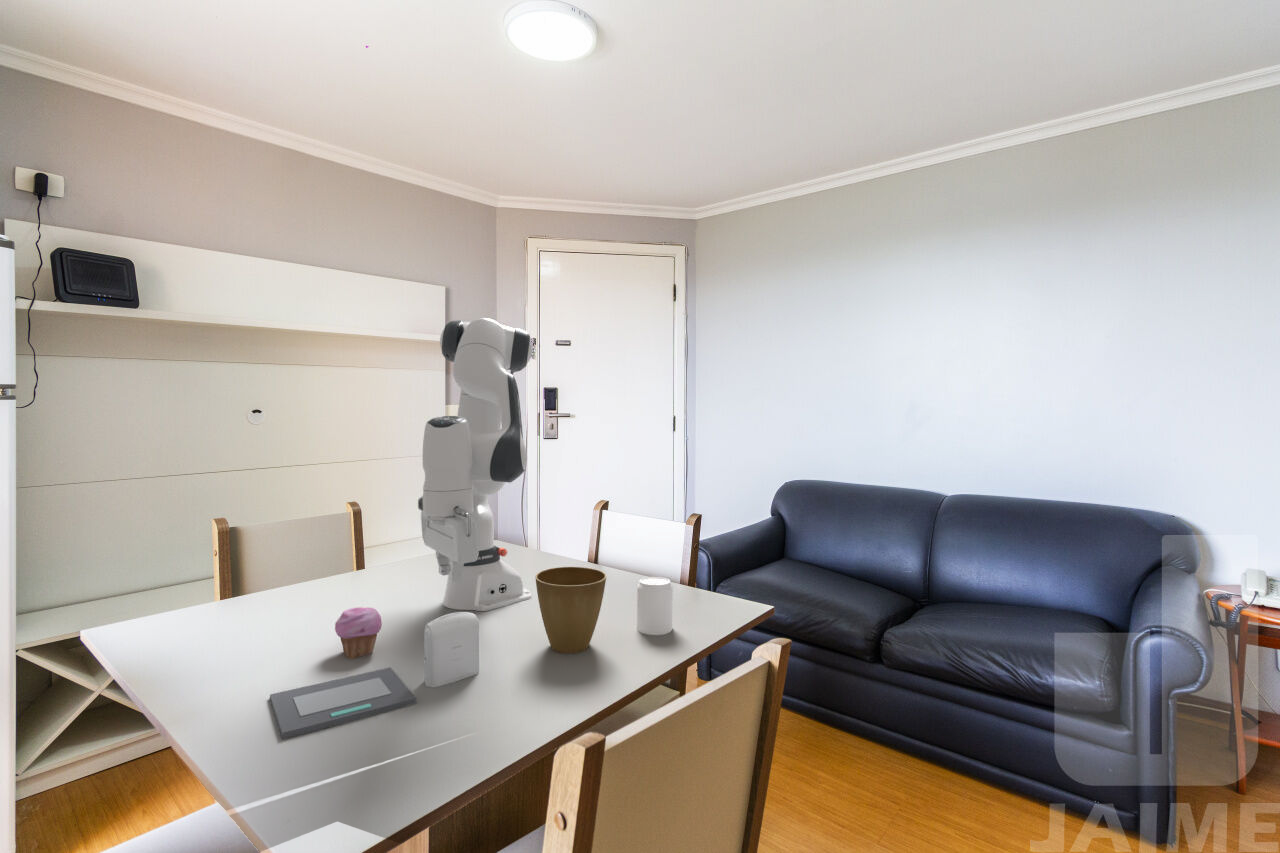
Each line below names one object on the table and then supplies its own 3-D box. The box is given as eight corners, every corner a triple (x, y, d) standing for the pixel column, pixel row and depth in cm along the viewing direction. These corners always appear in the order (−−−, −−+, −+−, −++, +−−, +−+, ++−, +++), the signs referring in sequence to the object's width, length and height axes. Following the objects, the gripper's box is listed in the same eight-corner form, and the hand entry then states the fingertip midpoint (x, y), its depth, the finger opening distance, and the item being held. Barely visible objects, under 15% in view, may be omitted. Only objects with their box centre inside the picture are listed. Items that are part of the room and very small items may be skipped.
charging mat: (390, 672, 119) (390, 666, 119) (416, 703, 107) (416, 697, 107) (269, 700, 107) (269, 693, 107) (282, 739, 95) (282, 731, 95)
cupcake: (330, 654, 128) (330, 606, 128) (374, 645, 133) (374, 598, 133) (342, 668, 121) (342, 617, 121) (387, 657, 127) (387, 609, 126)
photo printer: (430, 691, 112) (430, 623, 111) (420, 683, 115) (420, 617, 114) (482, 675, 118) (482, 611, 118) (471, 668, 122) (472, 606, 121)
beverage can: (679, 632, 143) (679, 580, 143) (655, 641, 137) (656, 587, 137) (652, 624, 148) (653, 574, 148) (629, 632, 142) (629, 580, 142)
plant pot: (521, 657, 128) (521, 579, 127) (556, 633, 141) (557, 563, 141) (586, 668, 122) (587, 587, 122) (616, 643, 136) (617, 570, 136)
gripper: (486, 509, 109) (488, 587, 110) (446, 496, 126) (448, 564, 126) (451, 513, 105) (453, 594, 106) (414, 499, 122) (416, 569, 122)
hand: (450, 577), depth 116 cm, fingers open, 4 cm apart
